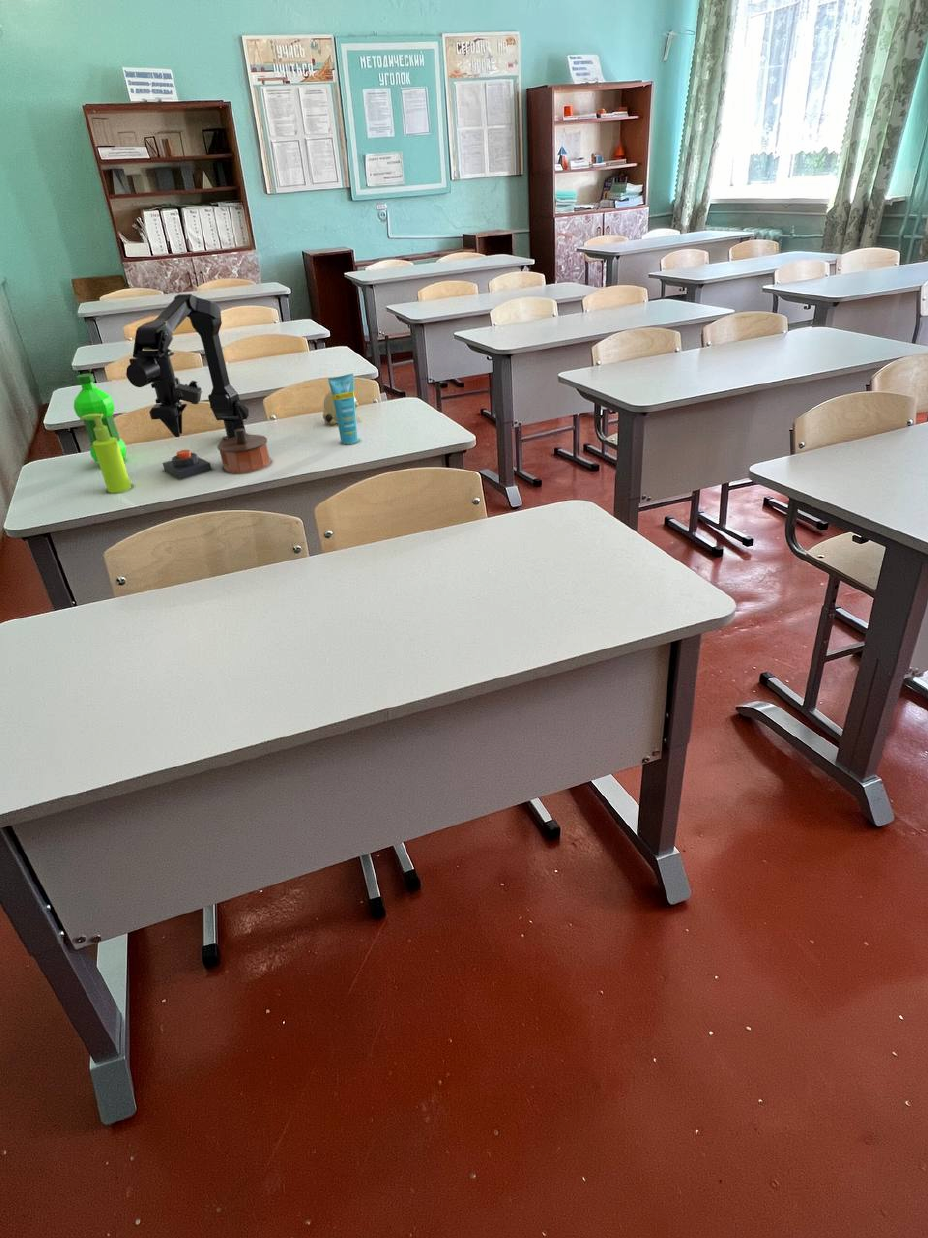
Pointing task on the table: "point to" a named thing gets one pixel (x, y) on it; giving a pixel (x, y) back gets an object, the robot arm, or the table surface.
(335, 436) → the table surface
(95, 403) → the plastic bottle
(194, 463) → the box
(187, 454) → the button
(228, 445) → the lid
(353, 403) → the tube
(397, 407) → the table surface
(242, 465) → the round brown pot
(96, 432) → the soap dispenser
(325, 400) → the toy pig
